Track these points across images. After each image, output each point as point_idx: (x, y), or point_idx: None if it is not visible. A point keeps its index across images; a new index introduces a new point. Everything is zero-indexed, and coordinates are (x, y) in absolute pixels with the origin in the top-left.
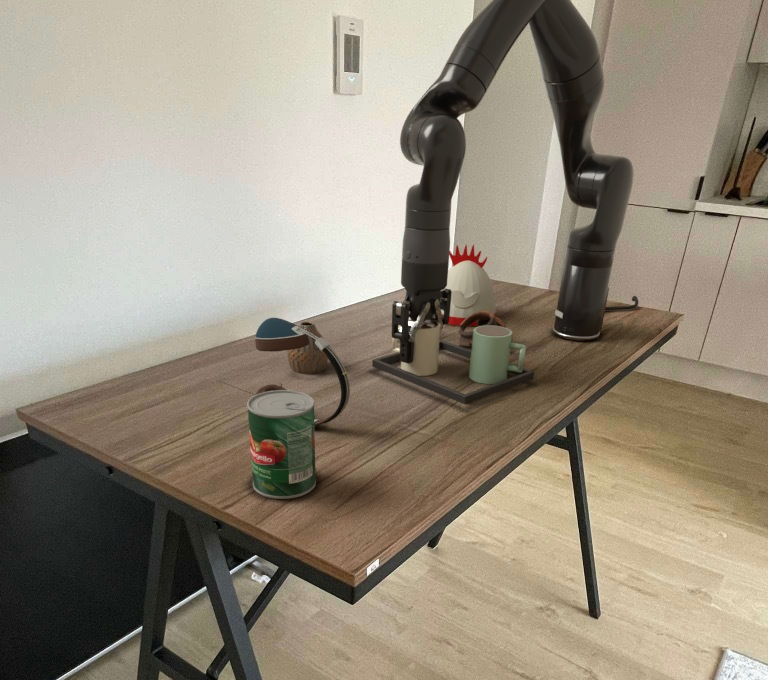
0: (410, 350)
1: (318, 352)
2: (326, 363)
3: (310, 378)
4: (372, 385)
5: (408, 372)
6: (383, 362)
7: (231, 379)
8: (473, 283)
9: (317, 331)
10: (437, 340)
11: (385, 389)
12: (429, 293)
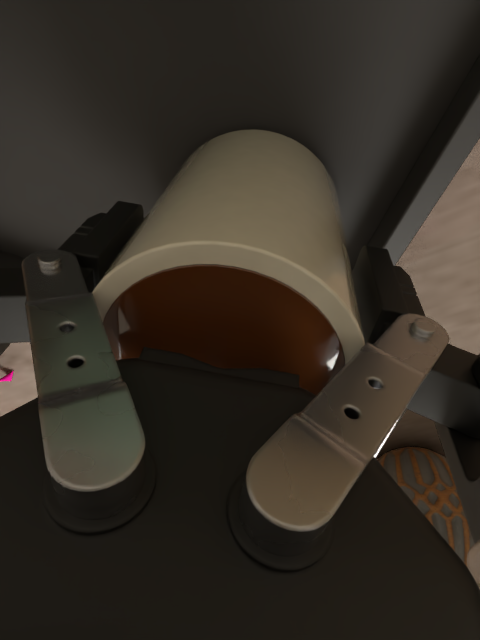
0: (397, 287)
1: None
2: (415, 467)
3: (441, 453)
4: (440, 310)
5: (405, 225)
6: None
7: None
8: None
9: None
10: (236, 195)
11: (469, 257)
12: (148, 635)
